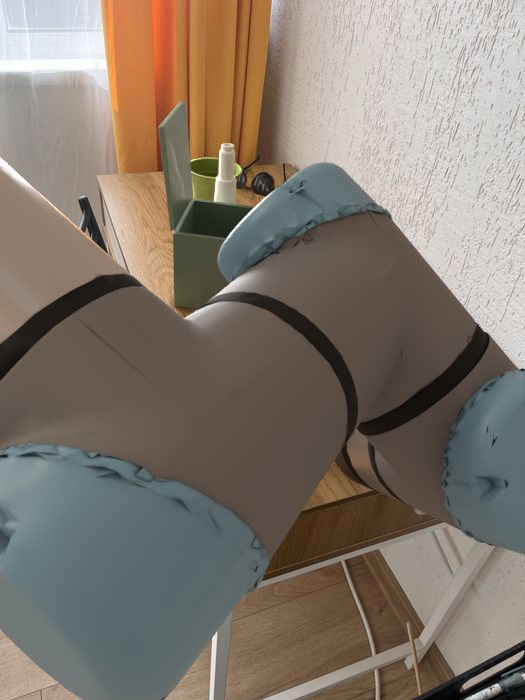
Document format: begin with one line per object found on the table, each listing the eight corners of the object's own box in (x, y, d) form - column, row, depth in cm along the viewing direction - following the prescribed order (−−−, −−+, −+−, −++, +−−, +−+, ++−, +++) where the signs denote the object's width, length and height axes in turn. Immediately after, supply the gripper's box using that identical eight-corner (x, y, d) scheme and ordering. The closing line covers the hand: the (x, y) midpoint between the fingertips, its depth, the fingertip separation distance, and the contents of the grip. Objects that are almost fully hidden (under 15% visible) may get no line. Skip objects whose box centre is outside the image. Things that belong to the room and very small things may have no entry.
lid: (185, 100, 82) (180, 100, 82) (163, 127, 72) (158, 126, 72) (193, 195, 92) (188, 195, 92) (175, 230, 81) (170, 230, 81)
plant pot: (243, 228, 115) (247, 178, 108) (189, 229, 112) (189, 178, 105) (233, 204, 124) (236, 157, 117) (183, 205, 121) (183, 156, 114)
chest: (265, 276, 101) (273, 208, 92) (258, 317, 90) (265, 245, 81) (190, 266, 101) (191, 198, 92) (174, 306, 90) (172, 233, 82)
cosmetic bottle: (202, 260, 103) (204, 146, 89) (213, 246, 108) (218, 136, 94) (231, 267, 102) (238, 153, 88) (241, 253, 107) (250, 143, 93)
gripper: (211, 511, 32) (195, 467, 53) (568, 482, 37) (424, 451, 58) (207, 389, 33) (193, 392, 54) (558, 375, 37) (419, 383, 58)
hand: (312, 423), depth 56 cm, fingers open, 13 cm apart
